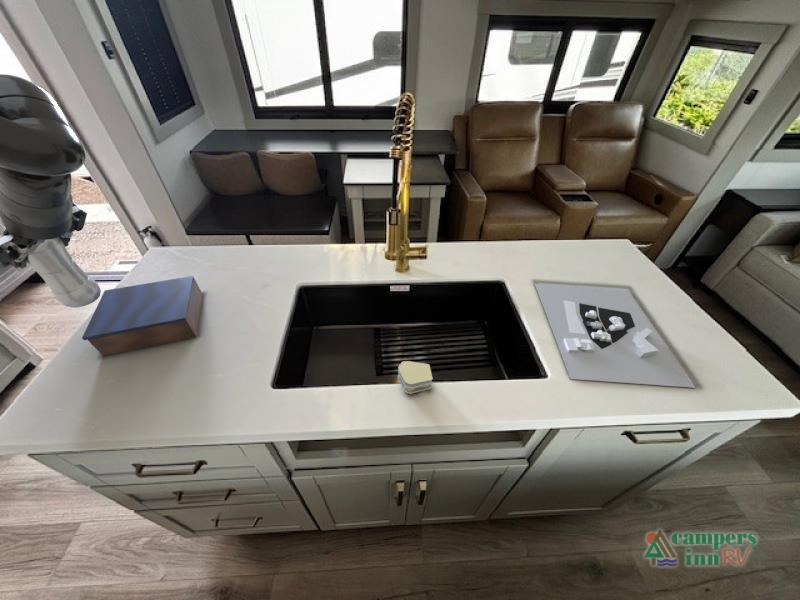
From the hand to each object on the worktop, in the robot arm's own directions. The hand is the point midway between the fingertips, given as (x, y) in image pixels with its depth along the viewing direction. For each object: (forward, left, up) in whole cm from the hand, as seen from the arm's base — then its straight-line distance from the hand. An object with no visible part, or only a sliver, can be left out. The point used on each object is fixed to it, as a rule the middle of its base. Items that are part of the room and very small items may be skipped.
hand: (40, 253), depth 59 cm
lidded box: (+6, +7, -29) cm, 30 cm away
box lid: (+6, +7, -22) cm, 23 cm away
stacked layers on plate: (+63, -31, -29) cm, 76 cm away
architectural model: (+119, -30, -29) cm, 126 cm away
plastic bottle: (+1, -1, -12) cm, 12 cm away
